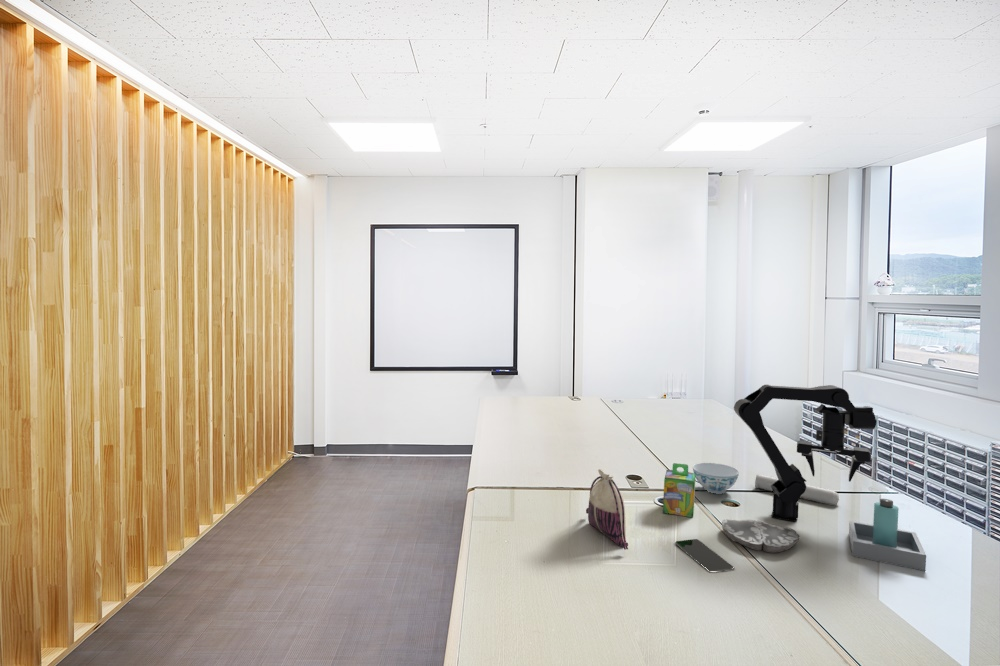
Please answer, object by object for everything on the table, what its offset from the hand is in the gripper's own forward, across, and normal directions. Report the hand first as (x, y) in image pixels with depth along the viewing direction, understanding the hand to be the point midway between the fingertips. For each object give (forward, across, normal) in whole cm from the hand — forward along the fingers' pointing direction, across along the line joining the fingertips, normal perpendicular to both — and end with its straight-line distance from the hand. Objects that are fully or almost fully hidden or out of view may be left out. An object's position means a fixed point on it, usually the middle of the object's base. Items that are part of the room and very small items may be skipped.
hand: (831, 478), depth 159 cm
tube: (+14, +9, -18) cm, 24 cm away
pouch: (+13, +55, +45) cm, 72 cm away
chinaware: (+13, +34, -9) cm, 38 cm away
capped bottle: (+12, -12, +16) cm, 23 cm away
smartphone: (+14, +29, +44) cm, 54 cm away
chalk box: (+13, +41, +16) cm, 46 cm away
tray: (+13, -12, +16) cm, 24 cm away
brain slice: (+14, +17, +27) cm, 35 cm away
